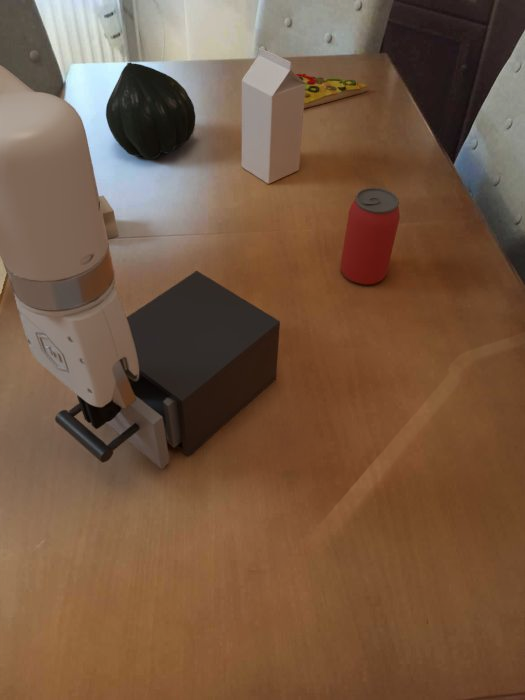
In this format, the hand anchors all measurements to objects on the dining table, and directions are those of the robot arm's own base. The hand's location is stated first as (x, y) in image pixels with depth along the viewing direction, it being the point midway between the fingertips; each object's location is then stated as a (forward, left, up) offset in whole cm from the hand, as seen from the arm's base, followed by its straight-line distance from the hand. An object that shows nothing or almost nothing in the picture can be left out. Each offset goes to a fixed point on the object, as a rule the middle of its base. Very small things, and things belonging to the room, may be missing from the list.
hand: (103, 415), depth 58 cm
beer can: (+41, +12, -7) cm, 44 cm away
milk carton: (+43, +42, -7) cm, 61 cm away
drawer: (+6, +2, -6) cm, 8 cm away
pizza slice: (+67, +63, -7) cm, 93 cm away
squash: (+28, +58, -7) cm, 65 cm away
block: (+11, +38, -7) cm, 41 cm away
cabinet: (+11, +4, -7) cm, 14 cm away
